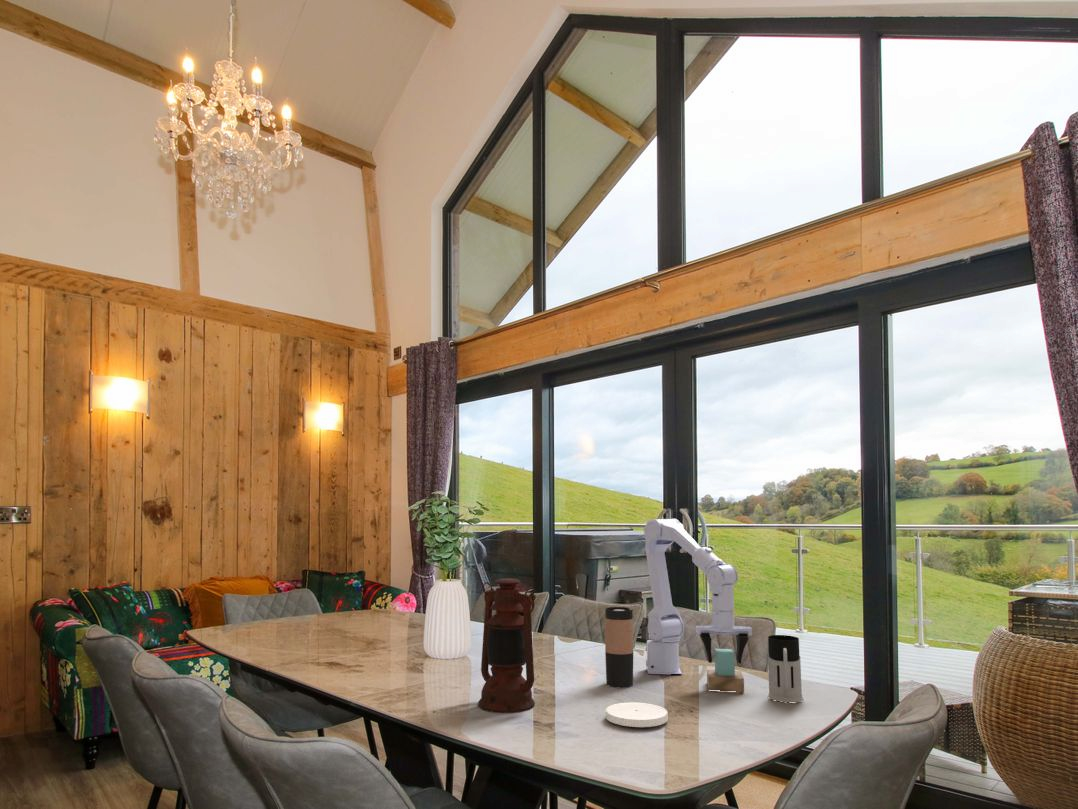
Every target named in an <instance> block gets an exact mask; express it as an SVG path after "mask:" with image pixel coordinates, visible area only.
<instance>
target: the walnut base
mask: <svg viewBox="0 0 1078 809" xmlns="http://www.w3.org/2000/svg"><path fill="white" fill-rule="evenodd" d="M706 681H707V682H706V683H708V685H707V689H708V688H709V690H720V691H736V692H744V693H745V678H744V675H743V673H742V670H735V676H720V675H717V674H716V672H715V669H708V668H707V669H706ZM709 690H708V691H709Z"/></svg>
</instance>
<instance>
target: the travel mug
mask: <svg viewBox="0 0 1078 809" xmlns="http://www.w3.org/2000/svg"><path fill="white" fill-rule="evenodd" d="M633 611H634V609H630V607H626V606H625V607H624V606H611V607H610V606H609V607H605V614H604V616H605V617H604V618H605V620H604V622H605V626H604V627H605V628H604V629H605V632H604V633H605V634H604V635H605V636H604V637H605V638H604V639H605V641H604V642H605V643H604V646H605V652H604V654H605V656H604V657H605V675H606V677H605V680H606V685H607V686H608V685H609V687H611V686H612V687H611V688H617V687H625V688H630V687H632V686H633V684H634V616H633V615H634V612H633Z"/></svg>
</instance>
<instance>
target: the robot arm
mask: <svg viewBox="0 0 1078 809" xmlns="http://www.w3.org/2000/svg"><path fill="white" fill-rule="evenodd" d="M684 526H685V525H684V524H683V523H681V522H680V520H678V519H677V518H675V517H674V518H657V519H656V518H650V519H649V520H648V521H647V523H646V524H645V526H644V527H643V534H644V541H645V555H646V561H647V567H648V573H649V582H650V588H651V595H652V602H653V608H652V609H651V610H650V611H649V613H648V614H647V618H648V622H647V632H648V633H647V634H648V635H649V637H650V639H647V640H646V661H645V665H646V670H647V674H649V675H671V674H682V675H683V673H682V670H681V669H680V650H679V649H680V646H679V644H680V643H679V641H681V637H682V636H683V635H684V632H685V624H684V621H683V619H682V617H681V614H680V610H679V609H677V608H676V607H675V606H674V605H673V600H672V594H671V587H670V581H669V574H668V568H667V561H666V555H665V551H666V550H667V548H668V547H670V545H672V544H673V543H676V544H677V545H678V546H679V547H681V548H682V549H684V550H685V551H686V552H687V553H688V554H689V555H691V557H692V558H691V559H692V560H691V561H692V563H693V564H694V565H695V566H696V567H697V568H699V570H700V571H701V572H703V573H704V574H705V575H706V580H707V583H708V584H709V587H710V588H709V589H710V592H711V610H712V612H711V613H712V616H711V617H712V624H711V625H696V626H695V633H696V635H699V636H700V639H701V641H702V643H703V646H704V649H705V651H706V652H705V653H706V656H707V662H708V663H710V664H712V663H713V658H712V657H713V656H712V638H711V635H733V636H734V635H735V638H736V662H737V663H738V664H742V659H743V654H744V651H745V648H746V646H747V643H748V641H749V636H753V628H752V627H751V626H741V625H739V626H738V625H735V602H734V601H735V599H734V597H735V596H734V593H735V592H734V585H735V584H737V582H738V578H739V576H738V571H737V569H736V568H735V567H734V565H733V564H731V563H726V562H724V561H723V560H722V559H721V558H719V557H718V556H717V555H716V554H715V553H713V550H712V549H711V547H706V546H703V547H702V546H701V545H699V544H698V543H697V541H696V540H695V539H694V538H693V537H692V536H691V535H690V534H689V533H688V532H687V531H686V530H685V527H684ZM663 616H664V617H663Z"/></svg>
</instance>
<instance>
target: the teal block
mask: <svg viewBox="0 0 1078 809" xmlns="http://www.w3.org/2000/svg"><path fill="white" fill-rule="evenodd" d="M735 658H736V656H735V652H734V650H733V649H732V648H714V670H715V672H716V674H717V675H720V676H735V671H736V670H735V669H736V668H735V665H736V664H735V662H736V660H735Z"/></svg>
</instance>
